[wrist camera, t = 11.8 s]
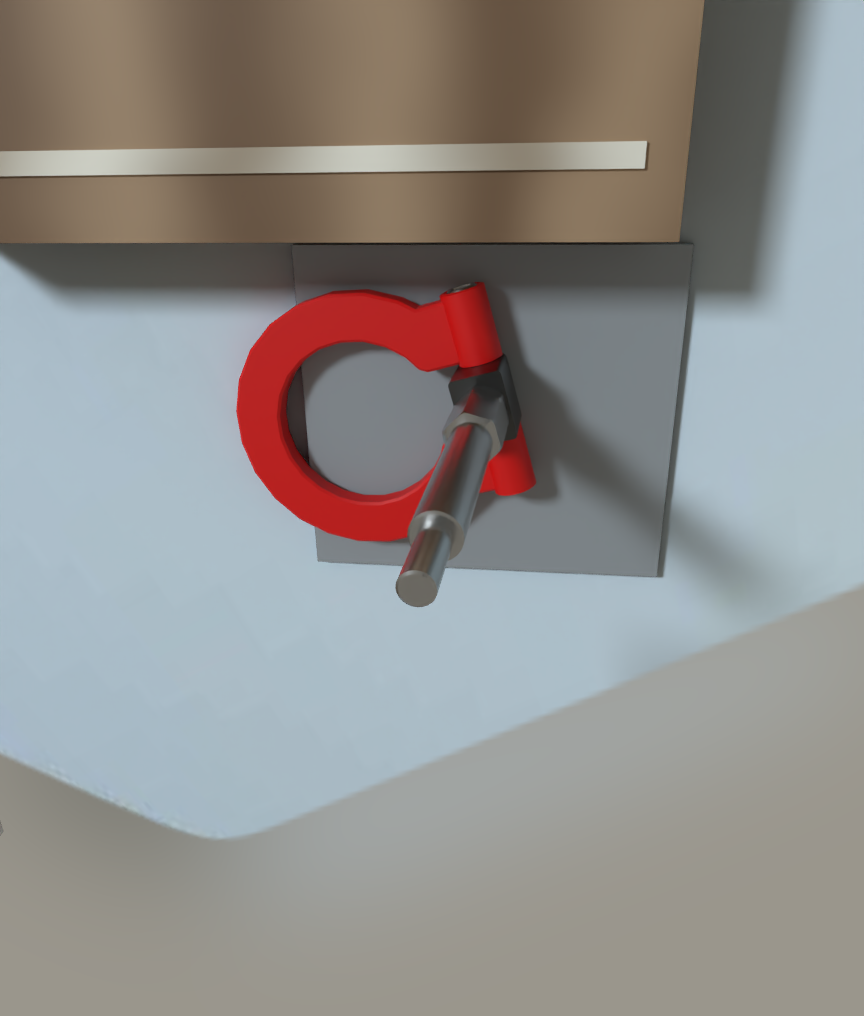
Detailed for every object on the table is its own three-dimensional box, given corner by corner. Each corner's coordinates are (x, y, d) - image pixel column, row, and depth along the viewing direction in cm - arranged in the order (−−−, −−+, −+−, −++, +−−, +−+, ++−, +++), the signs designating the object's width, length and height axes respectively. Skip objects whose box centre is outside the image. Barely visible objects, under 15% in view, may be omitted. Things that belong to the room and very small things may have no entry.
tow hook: (299, 547, 30) (547, 497, 28) (117, 810, 18) (517, 767, 16) (211, 324, 27) (481, 246, 24) (-70, 473, 15) (387, 355, 13)
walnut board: (699, -212, 20) (735, -290, 16) (658, 225, 24) (680, 242, 20) (-131, -157, 22) (-264, -215, 19) (-38, 228, 27) (-132, 243, 23)
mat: (692, 243, 24) (693, 244, 24) (655, 572, 29) (656, 576, 28) (294, 243, 25) (291, 245, 25) (319, 557, 30) (317, 561, 30)
